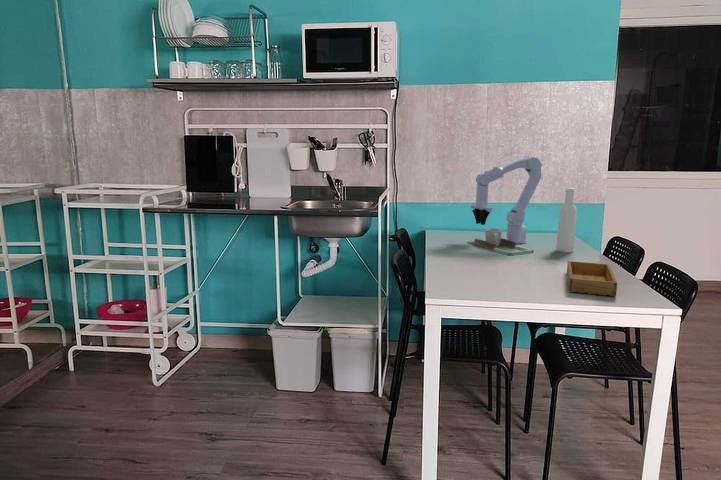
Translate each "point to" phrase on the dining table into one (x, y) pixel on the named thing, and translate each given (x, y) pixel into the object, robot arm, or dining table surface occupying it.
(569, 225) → the bottle
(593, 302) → the dining table surface
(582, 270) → the tray
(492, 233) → the cup
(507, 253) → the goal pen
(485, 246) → the channel
